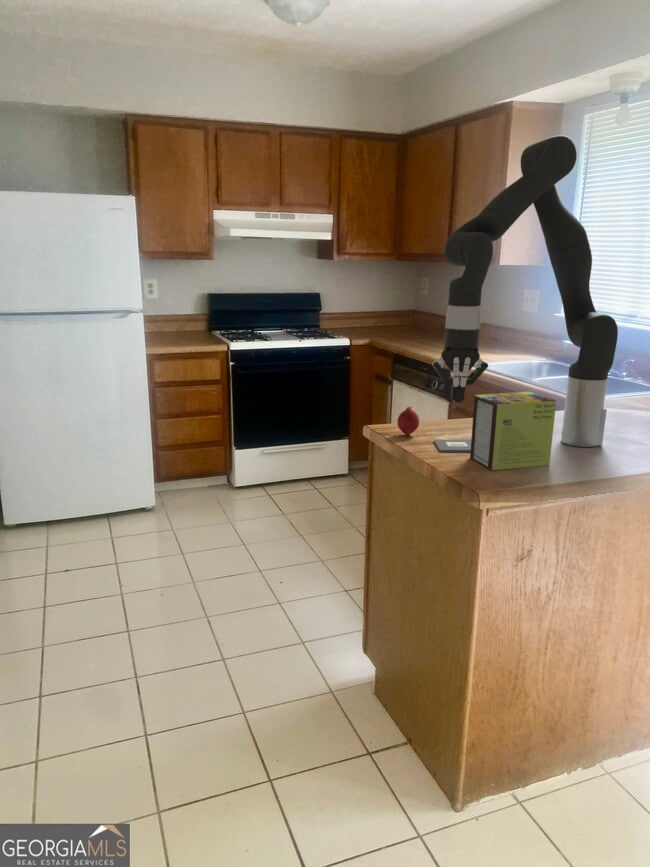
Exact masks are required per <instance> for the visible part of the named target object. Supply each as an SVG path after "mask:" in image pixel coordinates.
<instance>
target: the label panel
mask: <svg viewBox="0 0 650 867" xmlns="http://www.w3.org/2000/svg"><path fill="white" fill-rule="evenodd" d="M433 443H434V445H436V448H437V449H438V452H440V453H471V439H436V438H435V439H433Z"/></svg>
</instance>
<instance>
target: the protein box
mask: <svg viewBox="0 0 650 867" xmlns="http://www.w3.org/2000/svg"><path fill="white" fill-rule="evenodd" d="M473 398H474V399H473V411H472V415H473V416H472V426H471V427H472V428H471V439H470V440H471V452H469V453H470V454H469V458H470V459H472V460H474V461H475V462H477V463H478V464H480V465H482V466H484V467H485V468H487V469H489V470H490V471H499V470H500V471H501V470H512V469H525V468H532V467H533V468H536V467H545V466H546V467H547V466H550V463H551V462H550V461H551V454H552V446H553V445H552V443H553V436H554V426H555V416H556V407H557V399H553V398H551V397H547V396H545V395H541V394H538V393H535V392H532V391H521V392H519V391H517V392H504V393H503V392H501V393H489V394H488V393H487V394H474V396H473Z"/></svg>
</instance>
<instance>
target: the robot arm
mask: <svg viewBox="0 0 650 867" xmlns="http://www.w3.org/2000/svg"><path fill="white" fill-rule="evenodd" d="M577 154H578V153H577V148H576V145H575V143H574V142H573V140H572V139H571V138H570V137H569V136H565V135H554V136H551V137H548V138H546V139H543V140H540V141H537V142H534V143H533V144H530V145H528V146H527V147H525V148H524V149H523V150H522V154H521V156H520V170H521V174H522V176H521V177H520V178H518V179H517V180H515V181H514V182H512V183H511V184H510V185H509V186H507V187H506V188H504V189H503V190H502V191H500V192H499V193H498V194H497V195H495V197H493V199H492V200H490V201H489V203H488V204H487V205H485V207H484V208H483V209H482V210H481V211H480V212H479V214H478V215H477V216H475V217H473V218H472V219H470V220H469V221H467V222H465V223H464V224H463V225H462V226H460V227H458V228H457V229H456V230H455V231H453V233H451V234H450V236H449V237H448V238H447V241H446V243H445V245H444V249H443V250H444V257H445V260H446V261H447V262H448V263H449V264H450V265H453V266H456V267H464V271H463V273H462V275H461V276H458V277H455V278H452V279H451V280H450V283H449V287H448V302H447V311H446V314H445V328H444V344H443V350H442V352H441V354H440V355H441V356H440V357H439V358H437V359H436V360H432V362H431V365H432V366H433V368H434V369H435V370H436V372H437V374H438V375H439V376H440V379H442V381H443V382H444V383H445V384H446V385H450V386H451V388H450V390H451V391H450V399H451V400H452V401H453V403H454V404H461V403H462V401H464V400H465V394H466V393H465V392H466V387H467V386H469V385H473V384H474V383H475V382H476V381H477V380H478V379H479V378H480V377H481V376H482V374H483V373H484V372H485V371H486V370H487V369H488V367H489V363H487V361H486V362H485V361H484V360H483V359H482V358H481V355H480V354H481V353H479V346H480V344H479V343H480V342H479V341H480V331H481V330H480V329H481V326H482V323H481V318H482V317H481V316H482V315H481V305H482V304H481V303H482V291H483V290H482V289H483V285H484V283H485V280H486V277H487V274H488V271H489V268H490V267H491V266H490V265H491V262H492V259H493V254H494V246H493V242H495V241H497V240H499V239H500V238H502V237H503V235H505V233H506V232H507V231H508V230H509V229H510V228H511V227H512V226H513V225H514V223H516V221H517V220H518V219H519V218H520V217H521V215H523V213H524V212H526V210H528V208H529V207H530V206H532V204H533V207H534V209H535V212H536V214H537V215H536V216H537V218H538V221H539V224H540V227H541V231H542V233H543V237H544V241H545V245H546V249H547V252H548V257H549V260H550V264H551V267H552V271H553V274H554V276H555V281H556V285H557V288H558V291H559V296H560V298H561V304H562V307H563V313H564V322H565V325H566V326H565V327H566V333H567V335H568V338H569V340H570V342H571V343H572V344H573V345H574V346H576V347H577V348H579V353H578V359H577V360H576V361H575V362H574V363H572V364H570V366H569V368H568V374H567V375H568V377H567V385H566V392H565V393H566V394H565V402H564V411H563V412H564V413H563V418H562V419H563V420H562V428H561V438H560V441H561V443H563V444H565V445H569V446H574V447H580V448H581V447H582V448H593V447H597V446H603V441H604V434H605V428H606V427H605V425H606V419H607V418H606V417H607V412H608V411H607V408H606V407H605V399H606V391H607V383H608V377H609V372H610V371H611V369H612V368H613V367H612V366H613V364H614V360H615V354H616V349H617V344H618V337H619V336H618V335H619V330H618V324H617V321H616V320H615V318H613V317H612V316H610V315H609V314H605V313H599V312H597V311H596V308H595V306H594V303H593V302H594V301H593V299H592V296H591V290H590V281H591V275H592V266H593V254H592V250H591V246H590V242H589V238H588V235H587V234H588V233H587V231H586V229H585V227H584V226H583V225H582V223H581V222H580V221H579V219H578V218H577V217H576V216H575V215H574V214H573V213H572V212H571V211H570V210H569V209H568V208H567V207H566V205H565V204H564V203H563V202H562V200H561V198H560V196H559V194H558V190H557V187H556V185H557V183H559V182H560V181H561V180H563V178H565V177H566V176H568V175H569V174H570V173H571V171H573V169H574V167H575V165H576V161H577ZM444 364H445V365H446V366H447V368H448V370H450V377H449V376H448V375H447V373H446V372H445V370H444V369H443V368H444V367H445V365H444ZM474 365H475V368H474V369H473V371H472V372H471V373H470V374H469V372H470V370H471V369H472V368H473V367H474Z"/></svg>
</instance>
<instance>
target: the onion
mask: <svg viewBox="0 0 650 867" xmlns="http://www.w3.org/2000/svg"><path fill="white" fill-rule="evenodd" d="M396 423H397V428H398V429H399V430H400V431H401V432H402V434H404V435H405V436H410V435H411V434H413V433H414V432H416V431H417V429H419V425H420V418H419V415H418V414H417V412H415V411H414V410H413V409H412V407H411V405H408V406H407V407H406V409H404V410H403V411H402V412H400V414H399V415H398V418H397V420H396Z"/></svg>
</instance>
